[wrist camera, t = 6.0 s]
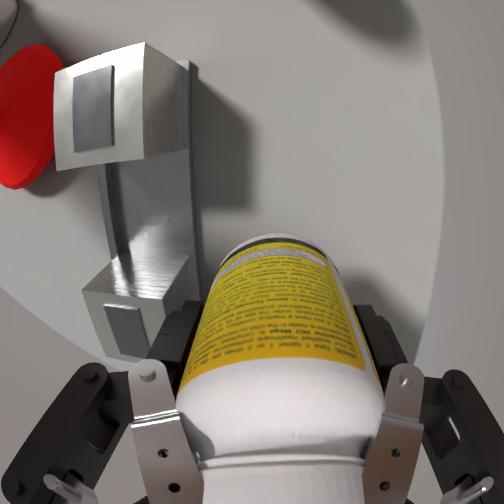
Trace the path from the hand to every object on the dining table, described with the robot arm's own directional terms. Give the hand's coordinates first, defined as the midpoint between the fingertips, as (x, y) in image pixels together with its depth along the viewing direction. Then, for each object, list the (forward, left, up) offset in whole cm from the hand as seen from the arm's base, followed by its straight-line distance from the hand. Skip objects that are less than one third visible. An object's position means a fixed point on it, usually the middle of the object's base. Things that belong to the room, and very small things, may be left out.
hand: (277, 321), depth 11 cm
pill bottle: (0, 0, -3) cm, 3 cm away
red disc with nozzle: (-13, -26, -13) cm, 32 cm away
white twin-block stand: (-2, -11, -13) cm, 17 cm away
